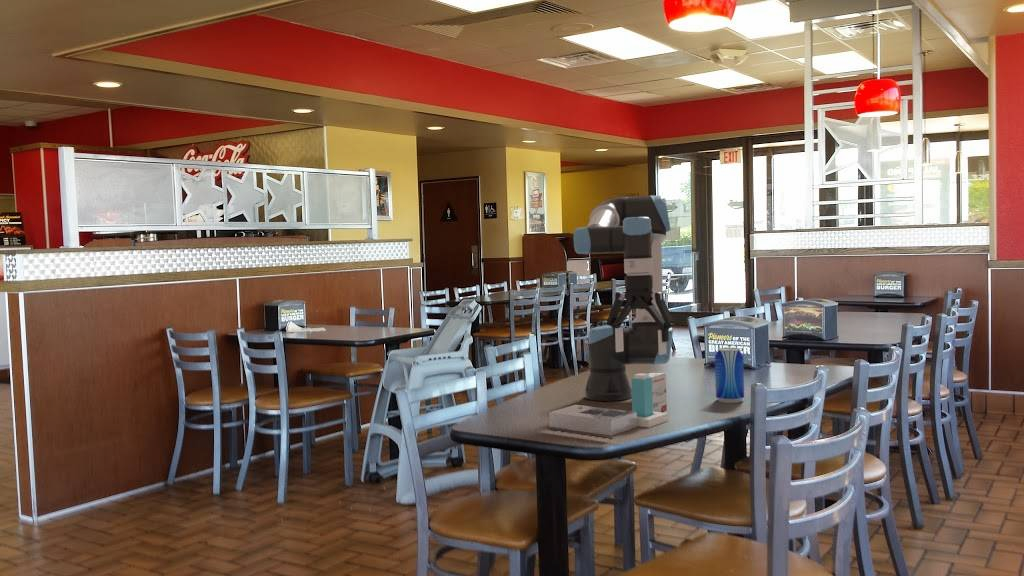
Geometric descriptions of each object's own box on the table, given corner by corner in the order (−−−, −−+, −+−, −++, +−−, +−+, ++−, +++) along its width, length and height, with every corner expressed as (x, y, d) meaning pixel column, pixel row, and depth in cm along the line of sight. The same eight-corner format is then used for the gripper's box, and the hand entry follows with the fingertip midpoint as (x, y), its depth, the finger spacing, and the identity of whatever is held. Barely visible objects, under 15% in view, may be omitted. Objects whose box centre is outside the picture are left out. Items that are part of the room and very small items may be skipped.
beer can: (745, 403, 261) (743, 350, 261) (716, 403, 263) (715, 350, 262) (743, 398, 270) (742, 346, 269) (715, 398, 271) (714, 347, 271)
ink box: (652, 411, 255) (651, 371, 254) (667, 413, 252) (666, 372, 251) (637, 417, 248) (636, 376, 247) (652, 418, 245) (651, 377, 244)
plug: (632, 422, 236) (631, 374, 236) (640, 419, 239) (639, 372, 239) (645, 424, 234) (643, 376, 233) (653, 421, 237) (651, 373, 236)
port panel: (550, 430, 235) (549, 410, 235) (576, 422, 244) (575, 402, 244) (611, 439, 222) (610, 418, 221) (637, 430, 231) (636, 410, 231)
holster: (617, 426, 236) (616, 415, 236) (637, 420, 244) (637, 409, 244) (648, 431, 230) (648, 419, 229) (668, 424, 237) (668, 413, 237)
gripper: (592, 275, 240) (594, 352, 241) (671, 274, 223) (674, 356, 224) (608, 274, 245) (610, 349, 246) (686, 273, 229) (688, 353, 230)
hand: (640, 353), depth 235 cm, fingers open, 13 cm apart
